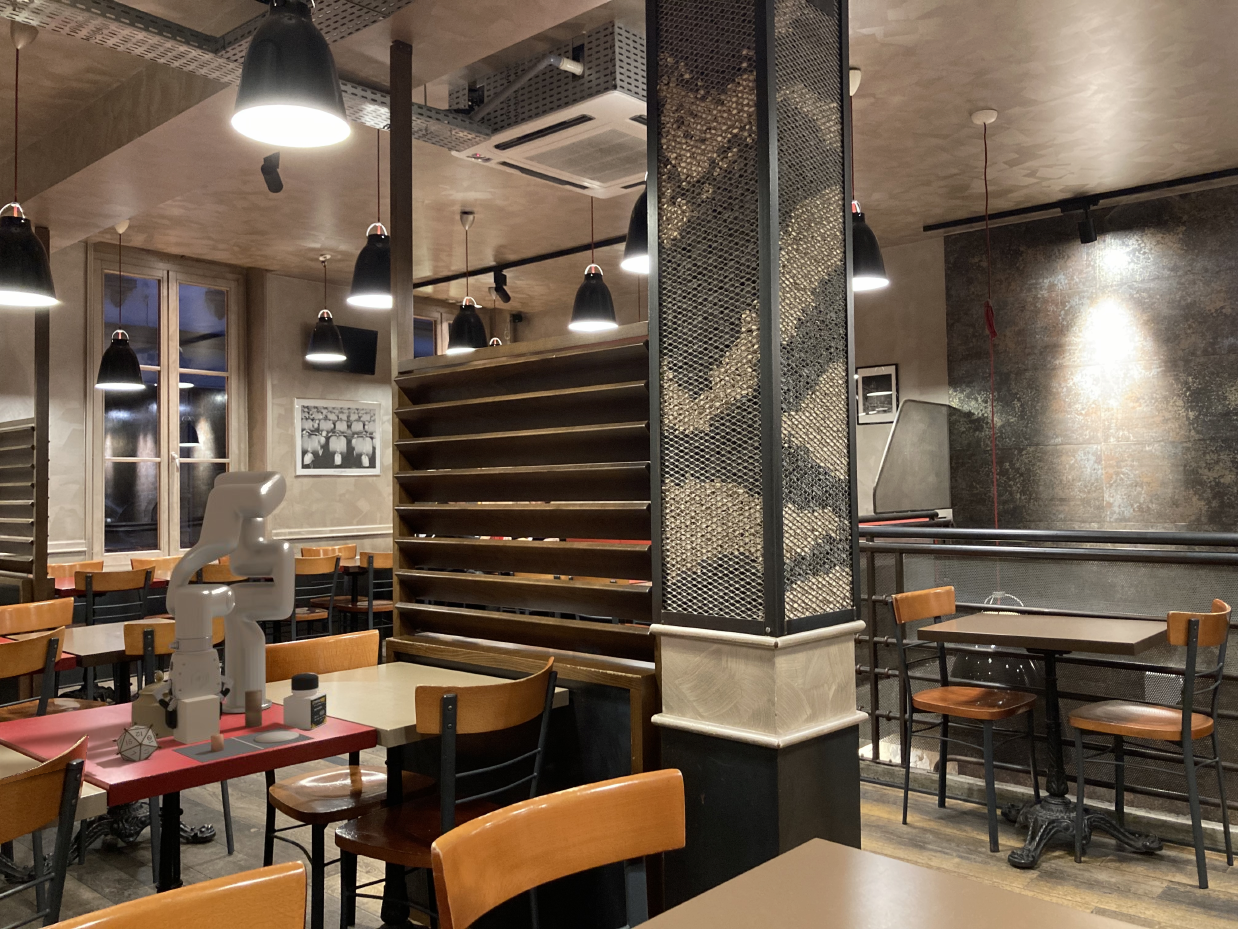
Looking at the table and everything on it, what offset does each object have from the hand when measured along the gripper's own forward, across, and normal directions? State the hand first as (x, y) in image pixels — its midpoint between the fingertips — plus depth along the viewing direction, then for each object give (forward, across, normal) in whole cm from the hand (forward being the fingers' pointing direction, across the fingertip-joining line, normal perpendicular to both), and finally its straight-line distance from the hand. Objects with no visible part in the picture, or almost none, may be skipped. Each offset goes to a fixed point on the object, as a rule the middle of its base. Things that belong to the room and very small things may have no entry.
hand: (194, 723), depth 208 cm
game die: (+4, -15, -9) cm, 18 cm away
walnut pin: (+4, +13, -1) cm, 14 cm away
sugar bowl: (+4, -4, +11) cm, 13 cm away
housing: (-1, -1, +1) cm, 2 cm away
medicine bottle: (+4, +23, -6) cm, 24 cm away
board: (+4, +4, -16) cm, 17 cm away
